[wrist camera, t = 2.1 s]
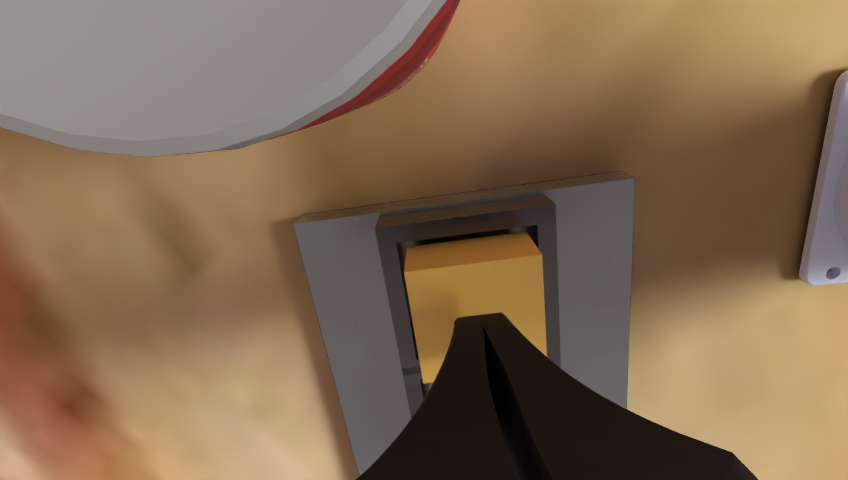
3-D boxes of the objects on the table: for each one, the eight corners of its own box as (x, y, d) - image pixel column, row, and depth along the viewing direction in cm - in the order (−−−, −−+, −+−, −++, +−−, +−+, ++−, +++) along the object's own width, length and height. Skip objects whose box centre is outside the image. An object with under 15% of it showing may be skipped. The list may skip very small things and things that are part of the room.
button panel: (619, 171, 15) (656, 187, 13) (612, 499, 21) (636, 553, 19) (302, 214, 16) (280, 237, 14) (380, 522, 22) (374, 576, 20)
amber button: (526, 231, 14) (542, 254, 12) (532, 334, 15) (547, 369, 13) (407, 247, 14) (404, 272, 12) (423, 347, 15) (423, 383, 14)
